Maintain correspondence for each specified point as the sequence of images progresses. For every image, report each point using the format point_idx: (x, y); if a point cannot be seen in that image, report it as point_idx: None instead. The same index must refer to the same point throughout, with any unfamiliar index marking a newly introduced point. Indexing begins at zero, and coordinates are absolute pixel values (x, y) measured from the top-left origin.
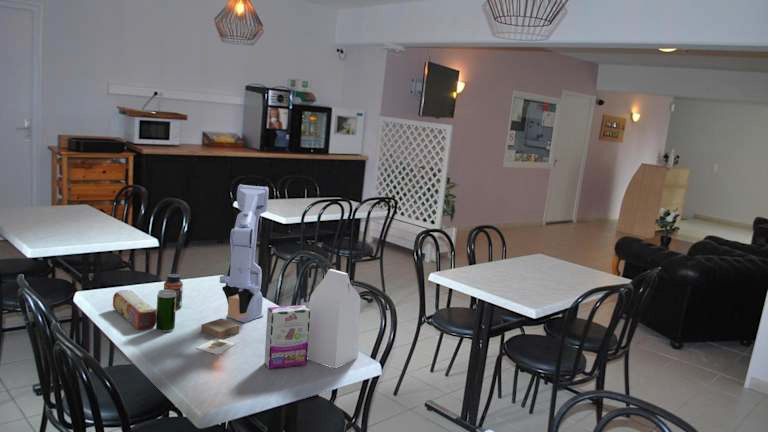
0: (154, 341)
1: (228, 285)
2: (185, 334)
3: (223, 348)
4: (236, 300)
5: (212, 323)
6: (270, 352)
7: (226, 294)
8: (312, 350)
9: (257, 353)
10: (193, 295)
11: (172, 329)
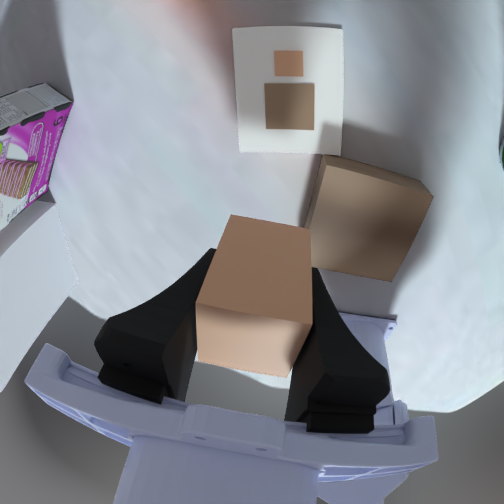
0: (495, 41)
1: (257, 419)
2: (456, 138)
3: (242, 80)
4: (221, 301)
5: (400, 225)
6: (6, 95)
7: (341, 339)
8: (20, 215)
9: (129, 137)
10: (488, 356)
11: (501, 149)
